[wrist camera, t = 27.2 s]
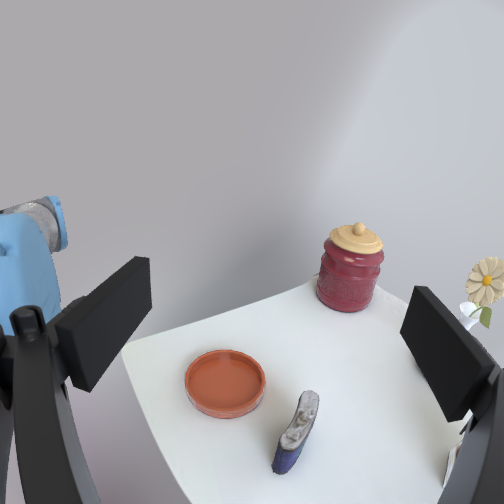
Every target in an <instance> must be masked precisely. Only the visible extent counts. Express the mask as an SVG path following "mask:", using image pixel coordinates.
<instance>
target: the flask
mask: <svg viewBox="0 0 504 504" xmlns="http://www.w3.org/2000/svg"><path fill="white" fill-rule="evenodd" d="M318 405H319V396H318V394H317V393H315V392H314V391H304V392H303V393H302V394H301V396H300V398H299V403H298V406H297V410H296V413H295V415H294V418H293V420H292V422H291V424H290V425H289V427H288V428H287V429H286V431H285V432H284V433H283V434H282V436H281V437H280V439H279V442H278V446H277V450H276V453H275V457H274V461H273V464H272V470H273V472H275V473H276V474H279V475H280V474H285V473H287V472H288V471H289V470H290V469H291V468H292V466H293V465H294V464H295V462H296V460H297V459H298V457H299V454H300V453H301V450H302V447H303V445H304V443H305V441H306V439H307V437H308V434H309V433H310V430H311V428H312V426H313V424H314V421H315V418H316V414H317V410H318Z"/></svg>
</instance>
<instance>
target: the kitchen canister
mask: <svg viewBox="0 0 504 504" xmlns="http://www.w3.org/2000/svg"><path fill="white" fill-rule="evenodd" d="M382 248H383V243H382V241H381V240H380V238H379V237H377V235H376V234H375V233H374V232H372V231H371V230H369V229H367V228H365V226H364V224H362V223H359V222H358V223H355V224H354V225H344V226H341V227H339V228H336V229H333V230H332V231H331V233H330V237H329V238H328V239H327V240H326V241H325V242H324V249H325V253H324V254H323V255H322V258H321V262H322V263H321V268H320V273H319V278H318V280H317V285H316V288H317V296H318V298H319V299H320V300H321V301H322V302H323V303H324V304H325V305H327V306H328V307H330V308H332V309H335V310H338V311H342V312H357V311H360V310H363V309H364V308H366V307H367V306H368V304H369V302H370V301H371V299H372V296H373V290H374V287H375V284H376V281H377V277H378V275H379V273H380V266H379V265H380V263H381V262H382V261H383V260H384V253H383V251H382Z"/></svg>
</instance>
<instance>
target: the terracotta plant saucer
mask: <svg viewBox="0 0 504 504" xmlns="http://www.w3.org/2000/svg"><path fill="white" fill-rule="evenodd" d="M185 386H186V390H187V394H188V397H189V399H190V401H191V402H192V404H193V405H194V406H195V407H196V408H197V409H198V410H200V411H201V412H203V413H205V414H207V415H209V416H212V417H216V418H223V419H228V418H236V417H240V416H242V415H245V414H247V413H249V412H250V411H252V410H253V409H254V408H255V407H256V406H257V405H258V404H259V403H260V401H261V399H262V396H263V393H264V389H265V375H264V372H263V370H262V368H261V366H260V365H259V363H257V362H256V361H255V360H254V359H253V358H252V357H250V356H248V355H246V354H244V353H242V352H238V351H233V350H216V351H211V352H208V353H205V354H203V355H201V356H199V357H198V358H197V359H195V360H194V361H193V362H192V363H191V364H190V366H189V368H188V370H187V372H186V375H185Z"/></svg>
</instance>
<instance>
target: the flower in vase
mask: <svg viewBox="0 0 504 504" xmlns="http://www.w3.org/2000/svg"><path fill="white" fill-rule="evenodd" d="M468 277H469V280H467V282H466V288H467V289H466V293H468V294H469V296H468V297H469V298H468V300H469V301H472V302H473V303H474V304H473V303H470V302H462V303H461V304H460V319H459V322H460V323H461V324H462V325H463V326H464V327H465V328H466V330H467V331H468V330H469V329H470V328H471V326H472V325H473V324H474V323H476V322H478V321H480V322H481V323H482V324H483V325H484V326H485V327H487V328H489V324H490V319H491V314H492V310H491V308H488V307H486V306H489V305H490V303H491V302H492V303H495V302H496V301H497V300H498V299H499V298H502V297H503V296H504V260H498V259H497V257H494V258H491V257H490V256H488V257H487V258H486V259H485V261H484V260H483V259H481V260H480V261H479V264H475V265H474V268H473V269H472V272H471V273H470V274H469V275H468ZM479 306H481V307H480V308H479ZM481 309H482V311H481Z"/></svg>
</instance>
